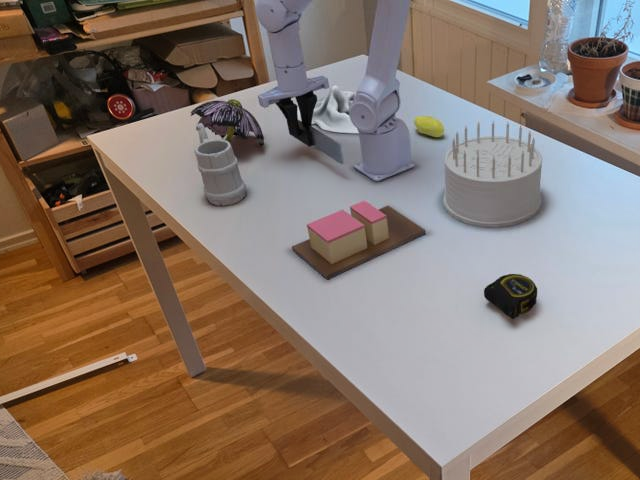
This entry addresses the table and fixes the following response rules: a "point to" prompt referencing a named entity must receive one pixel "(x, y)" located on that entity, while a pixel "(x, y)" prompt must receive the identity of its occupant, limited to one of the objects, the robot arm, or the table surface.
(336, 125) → the cloth
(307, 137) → the knife
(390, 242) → the board
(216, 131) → the decorative flower
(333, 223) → the cake
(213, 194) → the mug
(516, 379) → the table surface
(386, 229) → the cake slice
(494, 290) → the tape measure
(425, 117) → the lemon
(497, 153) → the cake
